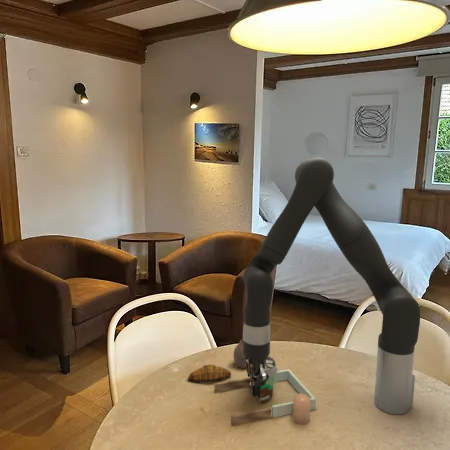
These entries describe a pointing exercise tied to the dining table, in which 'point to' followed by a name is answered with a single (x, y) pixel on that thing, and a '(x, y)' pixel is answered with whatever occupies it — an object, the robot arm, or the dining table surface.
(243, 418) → the brown flat strips
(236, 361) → the vase
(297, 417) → the tan rounded piece
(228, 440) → the dining table surface
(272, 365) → the food container
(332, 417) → the dining table surface
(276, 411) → the bay
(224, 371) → the croissant
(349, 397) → the dining table surface
